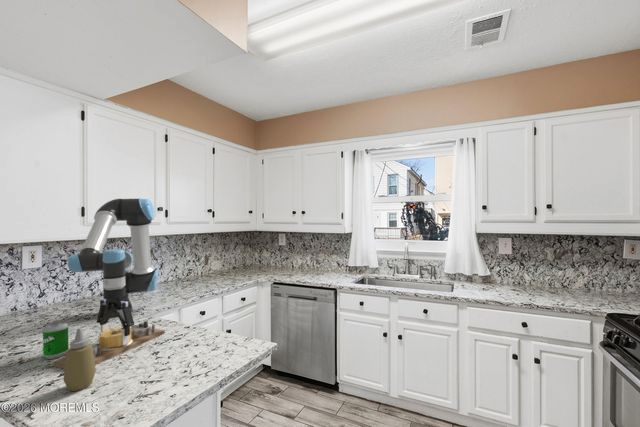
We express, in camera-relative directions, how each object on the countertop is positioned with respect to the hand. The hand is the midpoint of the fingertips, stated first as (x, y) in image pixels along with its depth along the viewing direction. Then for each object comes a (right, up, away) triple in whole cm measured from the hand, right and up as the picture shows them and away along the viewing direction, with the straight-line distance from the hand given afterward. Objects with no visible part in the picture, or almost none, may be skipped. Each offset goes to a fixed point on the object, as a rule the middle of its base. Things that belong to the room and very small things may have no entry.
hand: (115, 341), depth 125 cm
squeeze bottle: (+8, -2, -28) cm, 30 cm away
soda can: (-19, -3, -6) cm, 20 cm away
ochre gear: (0, 0, 0) cm, 0 cm away
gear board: (0, -2, 0) cm, 2 cm away
